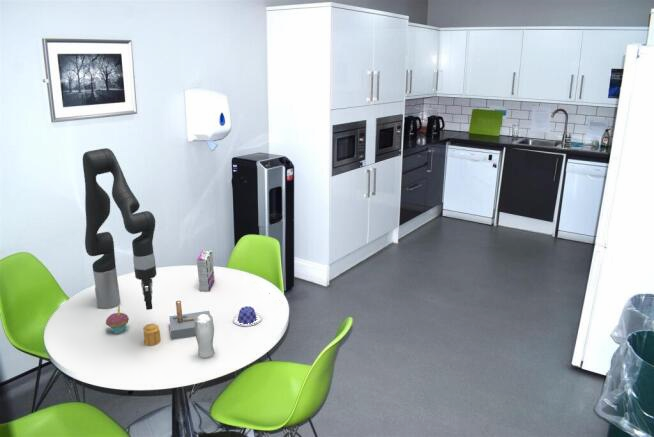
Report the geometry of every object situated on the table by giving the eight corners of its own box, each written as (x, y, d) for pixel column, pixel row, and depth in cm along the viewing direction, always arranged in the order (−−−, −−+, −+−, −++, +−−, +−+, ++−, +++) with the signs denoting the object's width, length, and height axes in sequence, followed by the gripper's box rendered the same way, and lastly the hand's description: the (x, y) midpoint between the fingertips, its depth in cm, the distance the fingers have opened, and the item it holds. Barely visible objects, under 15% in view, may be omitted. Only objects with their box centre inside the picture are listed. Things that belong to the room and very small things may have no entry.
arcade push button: (144, 346, 199) (142, 331, 197) (144, 338, 204) (142, 323, 202) (160, 344, 201) (158, 328, 199) (160, 336, 206) (158, 321, 204)
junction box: (171, 339, 204) (170, 328, 202) (170, 324, 215) (169, 314, 213) (212, 333, 209) (212, 322, 207) (209, 319, 219) (209, 308, 218)
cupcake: (134, 326, 213) (131, 300, 209) (120, 337, 206) (116, 310, 202) (117, 323, 216) (113, 297, 212) (102, 333, 208) (98, 306, 204)
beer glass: (198, 349, 198) (195, 314, 193) (216, 348, 198) (214, 313, 194) (195, 359, 191) (192, 323, 186) (214, 358, 192) (211, 322, 187)
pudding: (227, 320, 219) (226, 309, 217) (249, 310, 227) (249, 299, 226) (244, 330, 211) (244, 319, 210) (267, 320, 220) (267, 308, 218)
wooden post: (177, 323, 208) (175, 303, 205) (177, 321, 210) (175, 301, 207) (183, 322, 209) (181, 302, 206) (182, 320, 210) (180, 300, 208)
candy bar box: (204, 281, 254) (202, 250, 249) (214, 281, 254) (212, 250, 249) (198, 291, 244) (196, 259, 238) (209, 291, 244) (207, 259, 238)
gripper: (134, 258, 198) (139, 297, 203) (133, 273, 185) (138, 314, 190) (155, 256, 200) (159, 294, 205) (155, 270, 187) (160, 311, 193)
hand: (149, 303), depth 198 cm, fingers open, 8 cm apart
